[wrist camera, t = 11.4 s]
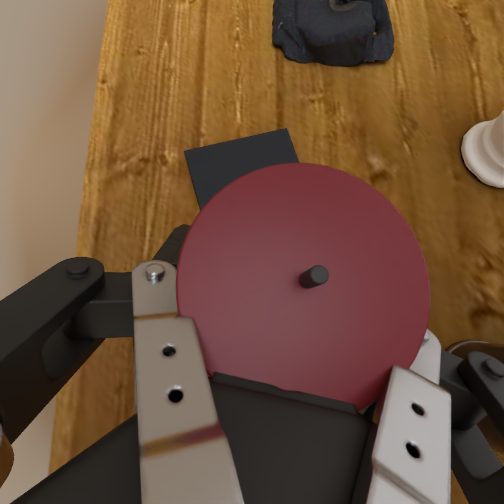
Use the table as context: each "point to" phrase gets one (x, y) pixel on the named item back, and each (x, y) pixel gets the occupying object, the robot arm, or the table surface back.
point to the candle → (305, 283)
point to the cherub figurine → (486, 151)
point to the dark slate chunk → (333, 31)
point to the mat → (236, 160)
